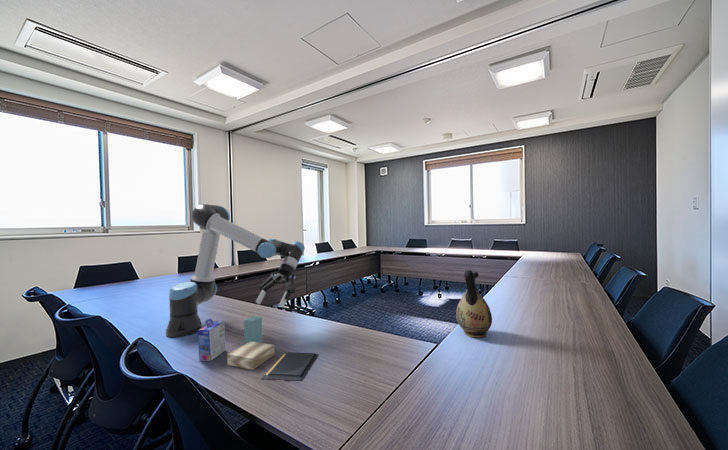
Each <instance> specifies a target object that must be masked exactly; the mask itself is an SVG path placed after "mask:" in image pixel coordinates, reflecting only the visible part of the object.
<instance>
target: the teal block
mask: <svg viewBox="0 0 728 450" xmlns="http://www.w3.org/2000/svg"><path fill="white" fill-rule="evenodd" d="M243 327H244V329H243V331H244V332H243V333H244V344H246V343H248V342H250V341H252V342H258V343H263V318H262V317H261V316H254V315H253V316H250V317H248V318H245V319H243Z"/></svg>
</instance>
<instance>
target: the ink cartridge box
mask: <svg viewBox="0 0 728 450" xmlns="http://www.w3.org/2000/svg"><path fill="white" fill-rule="evenodd" d="M204 322H205V326H202V328H201V329H199V330H198V332H197V341H198V357H199V361H200V362H211V361H213V360H215V358H217V357H218V356H220V355H221V354H222V353H223V352H225V351H226V350H227V349H226V331H225V321H219V320H218V321H217V320H215V321H213V319H212V318H211V317H210V318H208V319H207V320H205V321H204Z"/></svg>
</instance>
